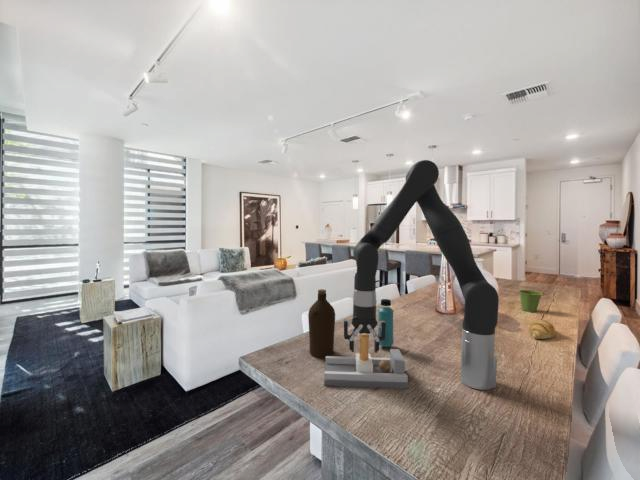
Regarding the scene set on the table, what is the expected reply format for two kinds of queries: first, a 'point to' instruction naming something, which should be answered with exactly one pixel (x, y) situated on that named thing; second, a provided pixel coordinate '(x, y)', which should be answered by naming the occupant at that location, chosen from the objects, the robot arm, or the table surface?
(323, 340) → the olive oil
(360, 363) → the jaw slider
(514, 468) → the table surface
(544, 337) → the croissant
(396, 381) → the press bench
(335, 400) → the table surface
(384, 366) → the walnut
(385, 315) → the beverage bottle
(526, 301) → the plant pot
